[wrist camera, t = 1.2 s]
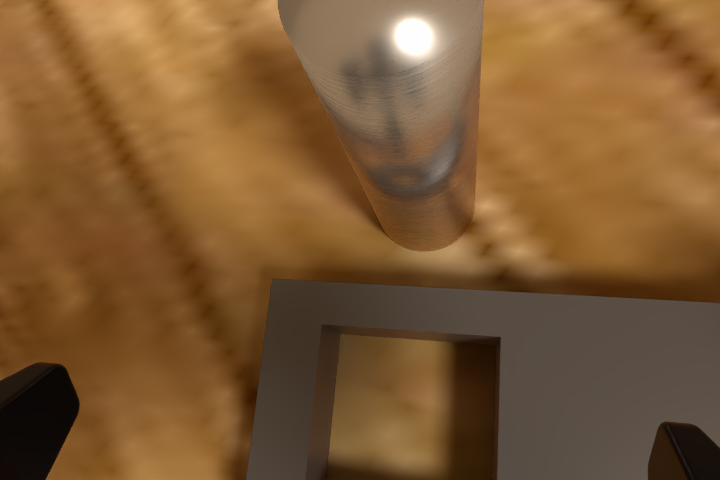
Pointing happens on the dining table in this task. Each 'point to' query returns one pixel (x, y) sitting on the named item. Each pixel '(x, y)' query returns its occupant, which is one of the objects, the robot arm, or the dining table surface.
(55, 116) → the dining table surface
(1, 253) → the dining table surface
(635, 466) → the twin nest fixture
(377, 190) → the cylinder
